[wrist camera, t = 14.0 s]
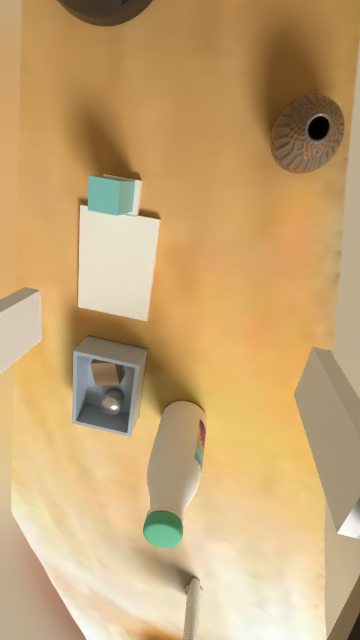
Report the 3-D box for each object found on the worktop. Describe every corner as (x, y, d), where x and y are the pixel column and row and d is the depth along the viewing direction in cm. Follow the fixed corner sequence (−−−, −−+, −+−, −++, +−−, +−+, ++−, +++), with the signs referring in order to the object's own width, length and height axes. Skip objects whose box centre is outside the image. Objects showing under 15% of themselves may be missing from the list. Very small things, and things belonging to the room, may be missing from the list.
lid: (83, 170, 39) (56, 167, 33) (165, 184, 39) (153, 185, 33) (80, 304, 47) (58, 323, 41) (148, 319, 47) (135, 339, 41)
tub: (87, 335, 49) (73, 350, 45) (147, 348, 49) (139, 365, 44) (85, 403, 55) (72, 422, 51) (138, 415, 54) (130, 436, 50)
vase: (320, 177, 36) (346, 175, 28) (261, 171, 37) (270, 167, 29) (339, 107, 33) (374, 83, 25) (274, 101, 34) (289, 76, 26)
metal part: (127, 394, 52) (123, 406, 49) (118, 405, 53) (113, 418, 51) (111, 384, 51) (106, 397, 49) (102, 396, 53) (96, 408, 50)
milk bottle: (155, 420, 54) (118, 538, 36) (176, 391, 51) (147, 504, 33) (192, 441, 55) (174, 566, 37) (215, 413, 52) (208, 536, 34)
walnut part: (97, 353, 50) (90, 363, 47) (121, 353, 49) (114, 363, 46) (102, 374, 51) (95, 385, 48) (125, 374, 51) (119, 385, 48)
